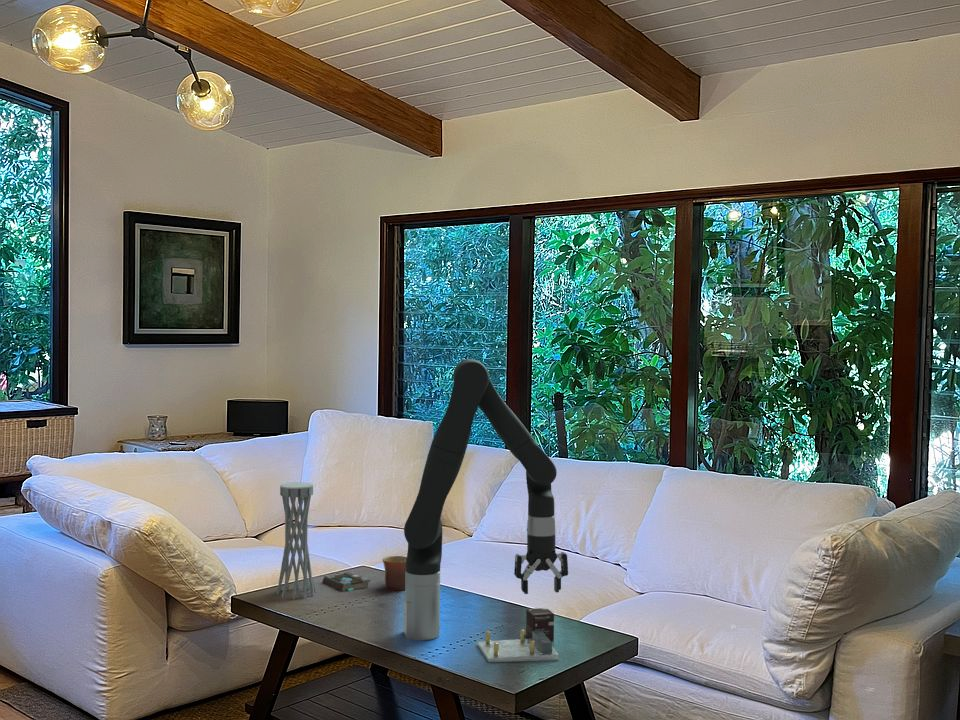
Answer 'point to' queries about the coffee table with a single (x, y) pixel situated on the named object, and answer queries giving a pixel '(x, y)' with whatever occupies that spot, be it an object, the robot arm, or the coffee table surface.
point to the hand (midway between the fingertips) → (541, 592)
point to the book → (346, 581)
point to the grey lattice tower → (296, 537)
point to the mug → (394, 573)
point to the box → (540, 622)
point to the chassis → (519, 648)
